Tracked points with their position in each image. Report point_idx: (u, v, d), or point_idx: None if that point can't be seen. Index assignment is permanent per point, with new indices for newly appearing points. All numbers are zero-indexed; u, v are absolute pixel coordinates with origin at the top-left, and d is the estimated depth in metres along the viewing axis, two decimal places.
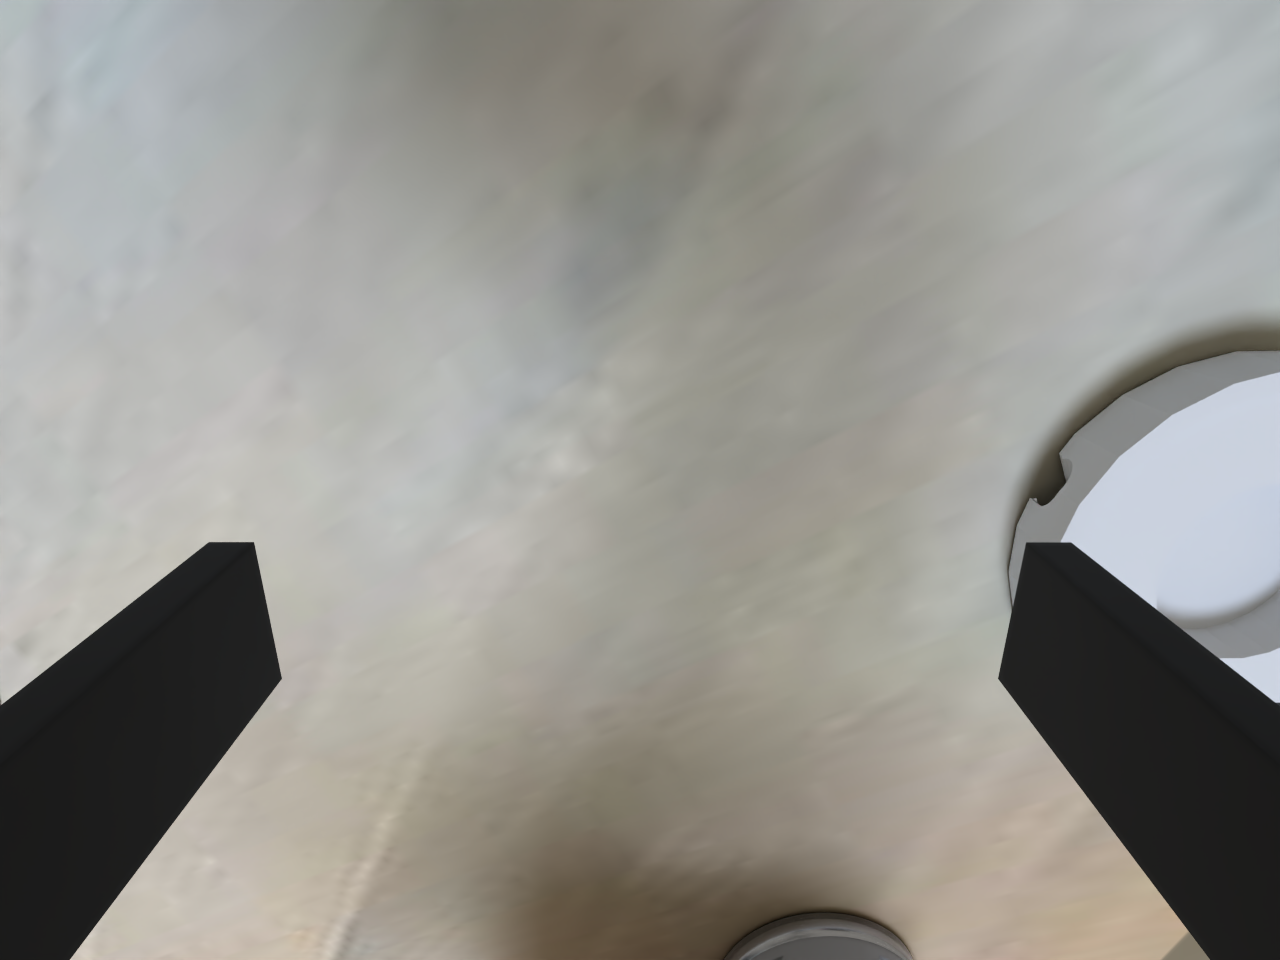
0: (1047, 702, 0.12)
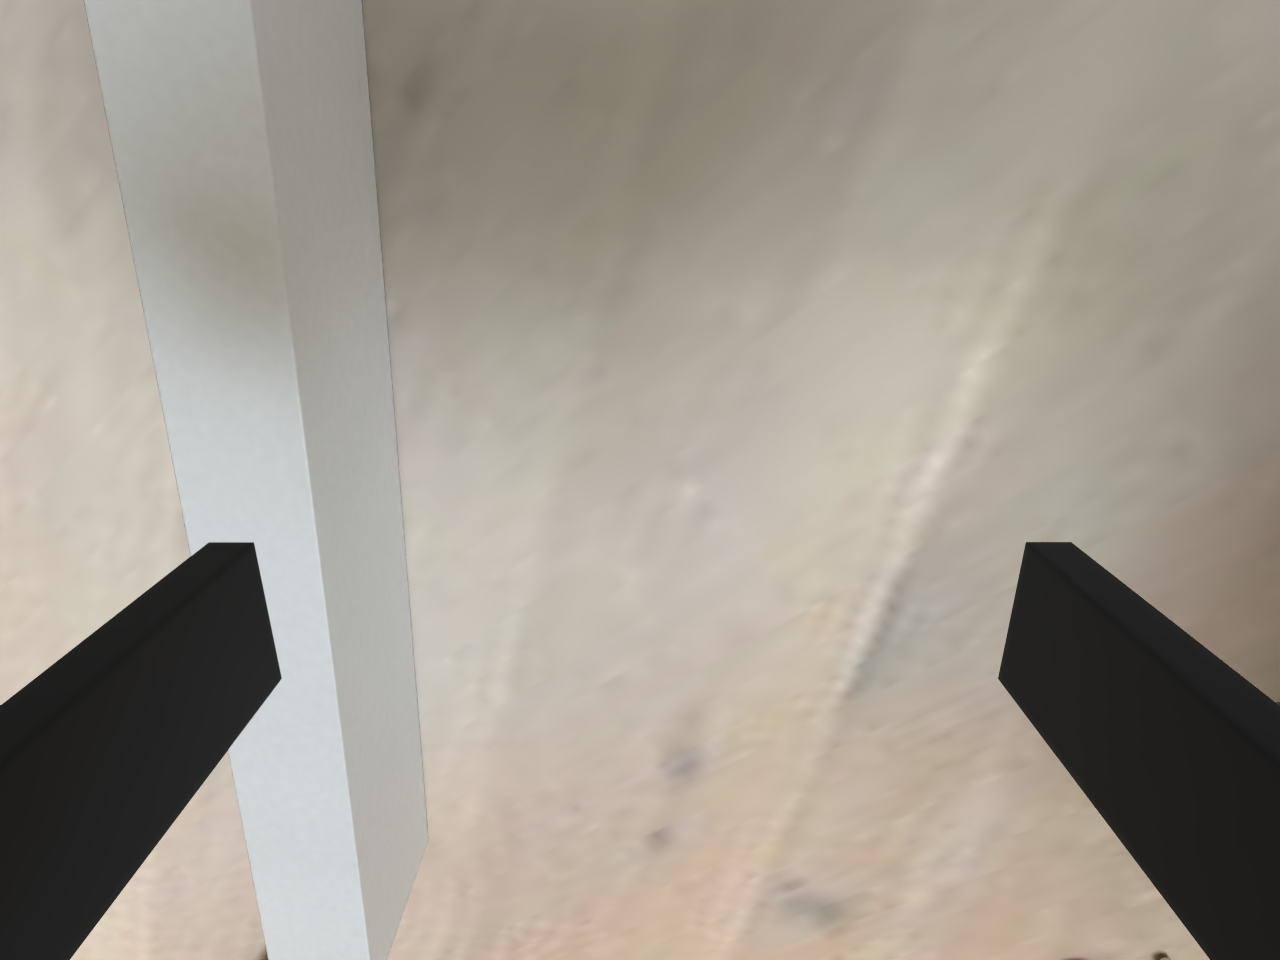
0: (1047, 702, 0.12)
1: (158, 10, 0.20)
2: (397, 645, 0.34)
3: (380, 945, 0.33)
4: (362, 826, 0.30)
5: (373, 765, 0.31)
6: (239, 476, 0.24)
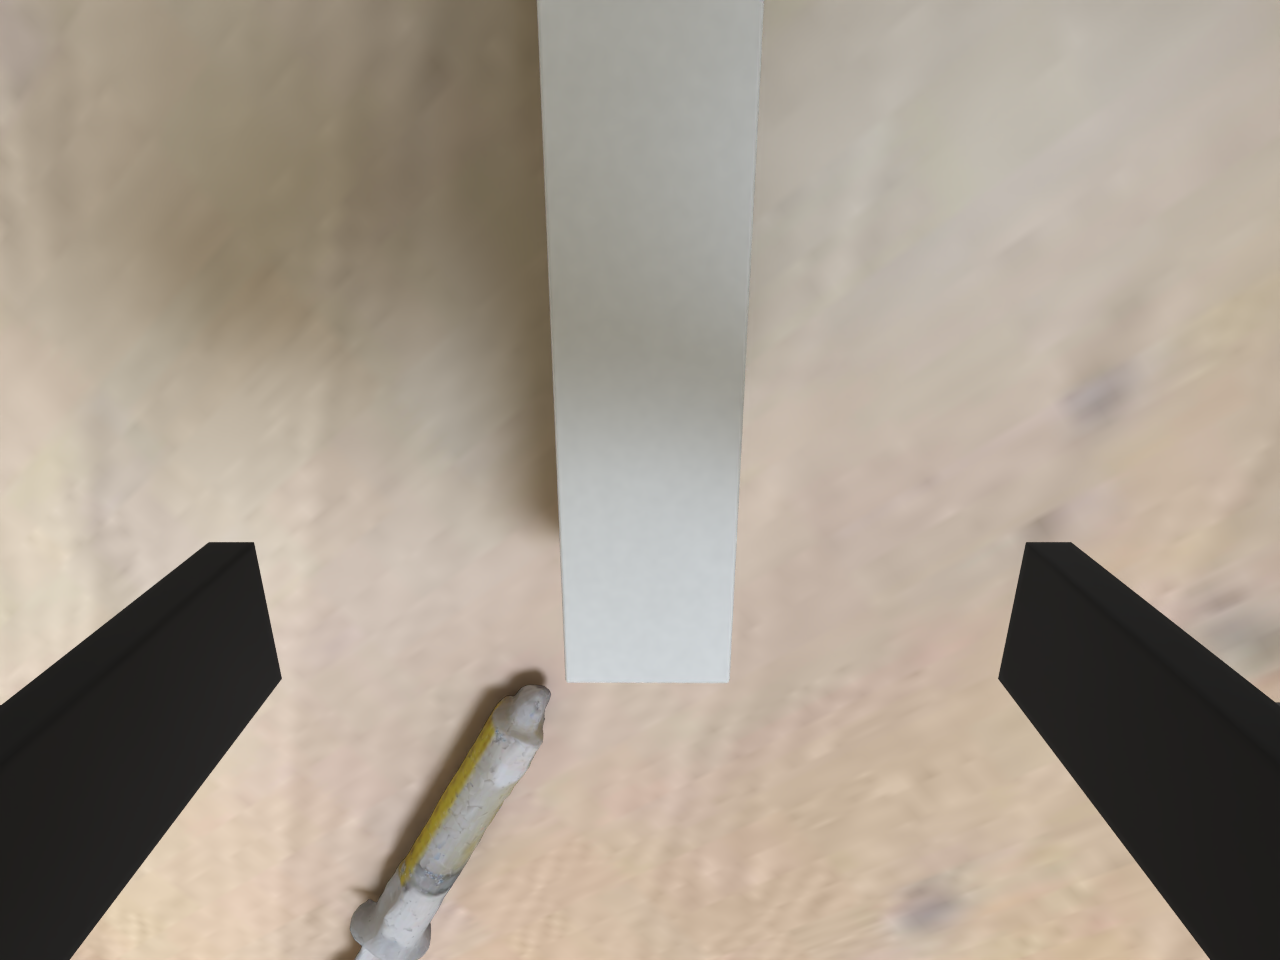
0: (1047, 702, 0.12)
1: None
2: None
3: None
4: None
5: None
6: None
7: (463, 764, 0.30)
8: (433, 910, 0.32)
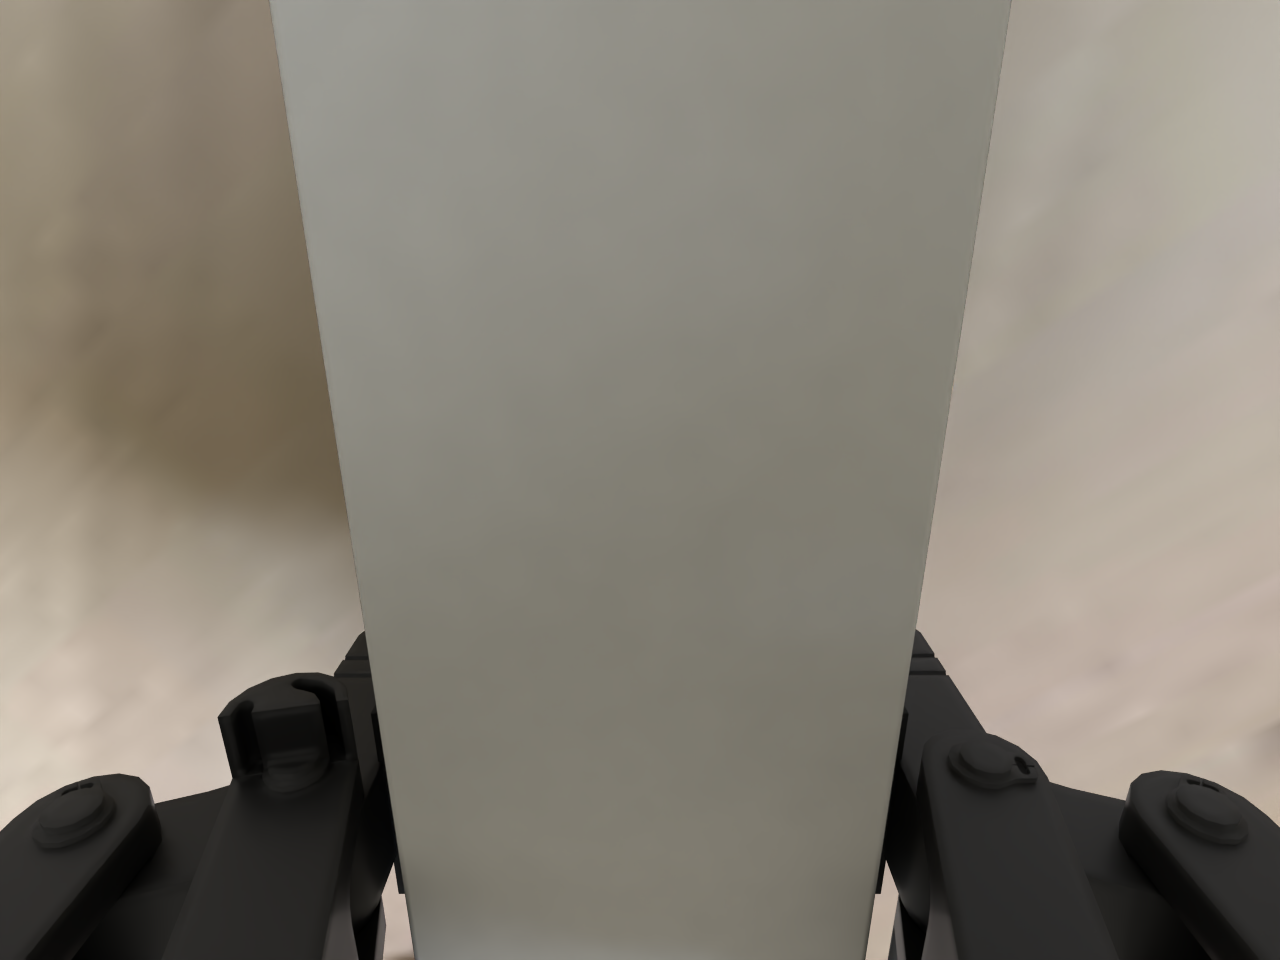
0: None
1: None
2: None
3: None
4: None
5: None
6: None
7: None
8: None
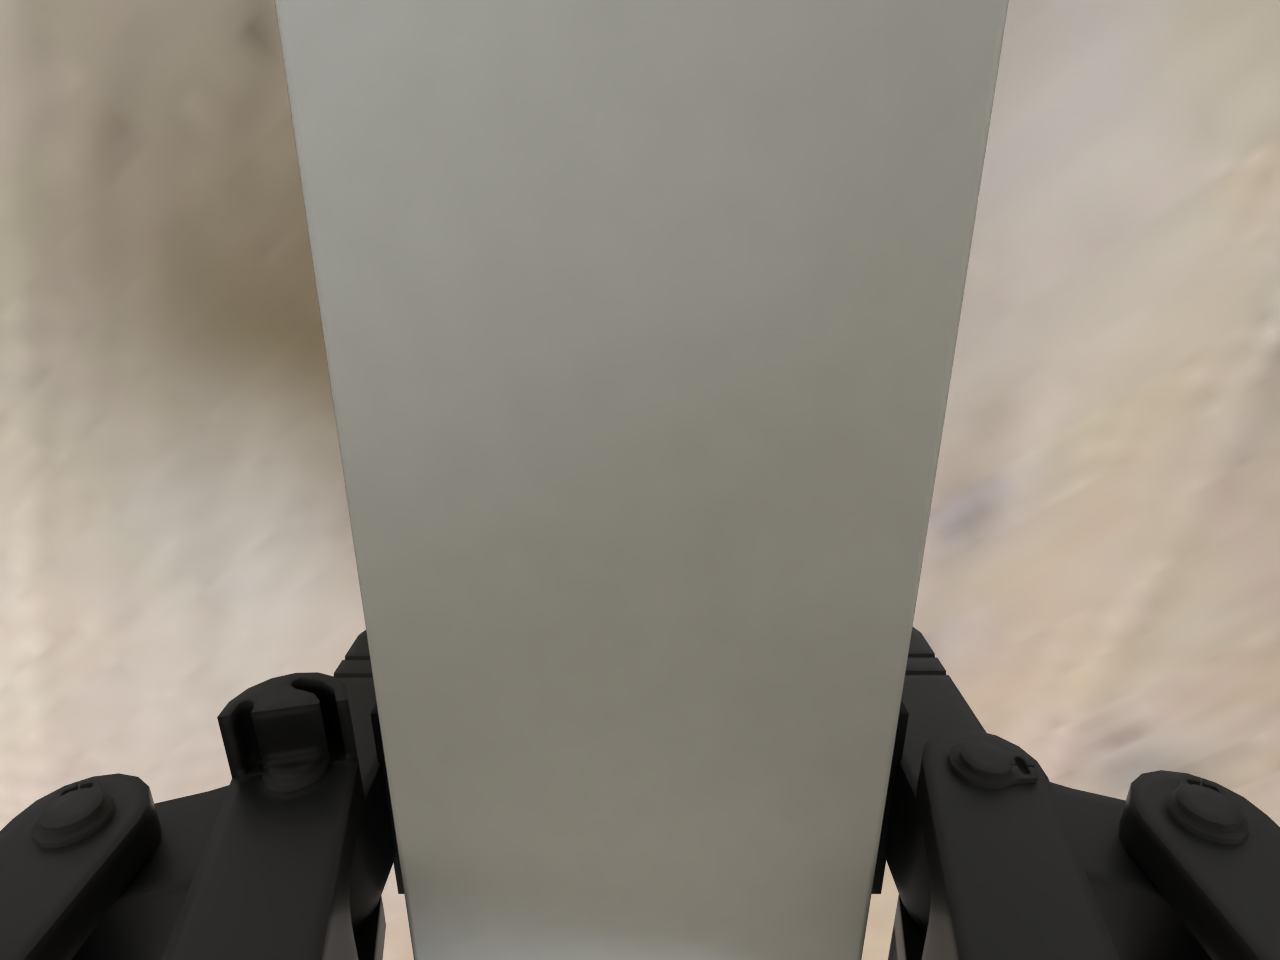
0: None
1: None
2: None
3: None
4: None
5: None
6: None
7: None
8: None
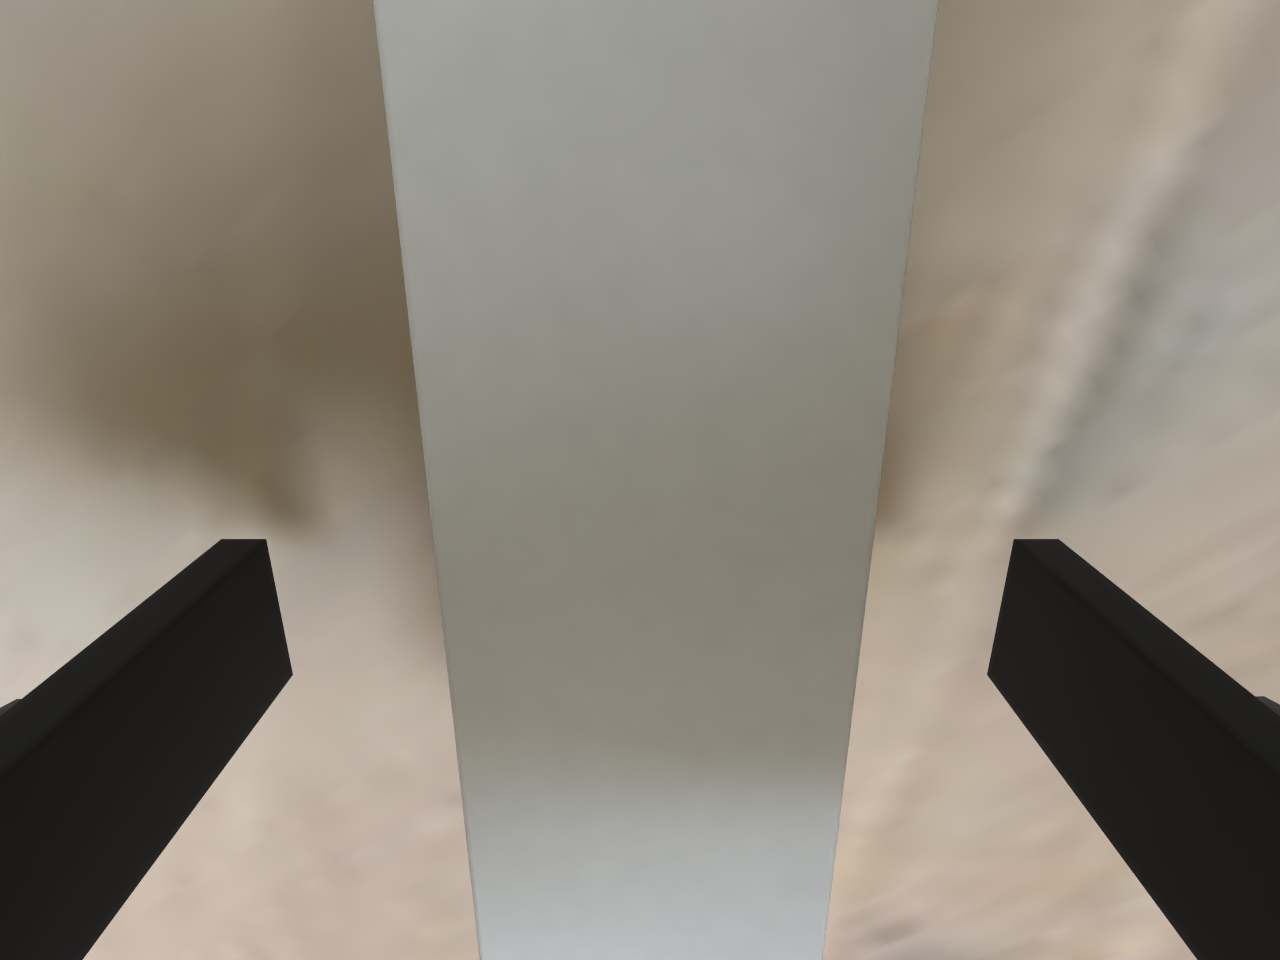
0: (1034, 697, 0.12)
1: None
2: None
3: None
4: None
5: None
6: None
7: None
8: None
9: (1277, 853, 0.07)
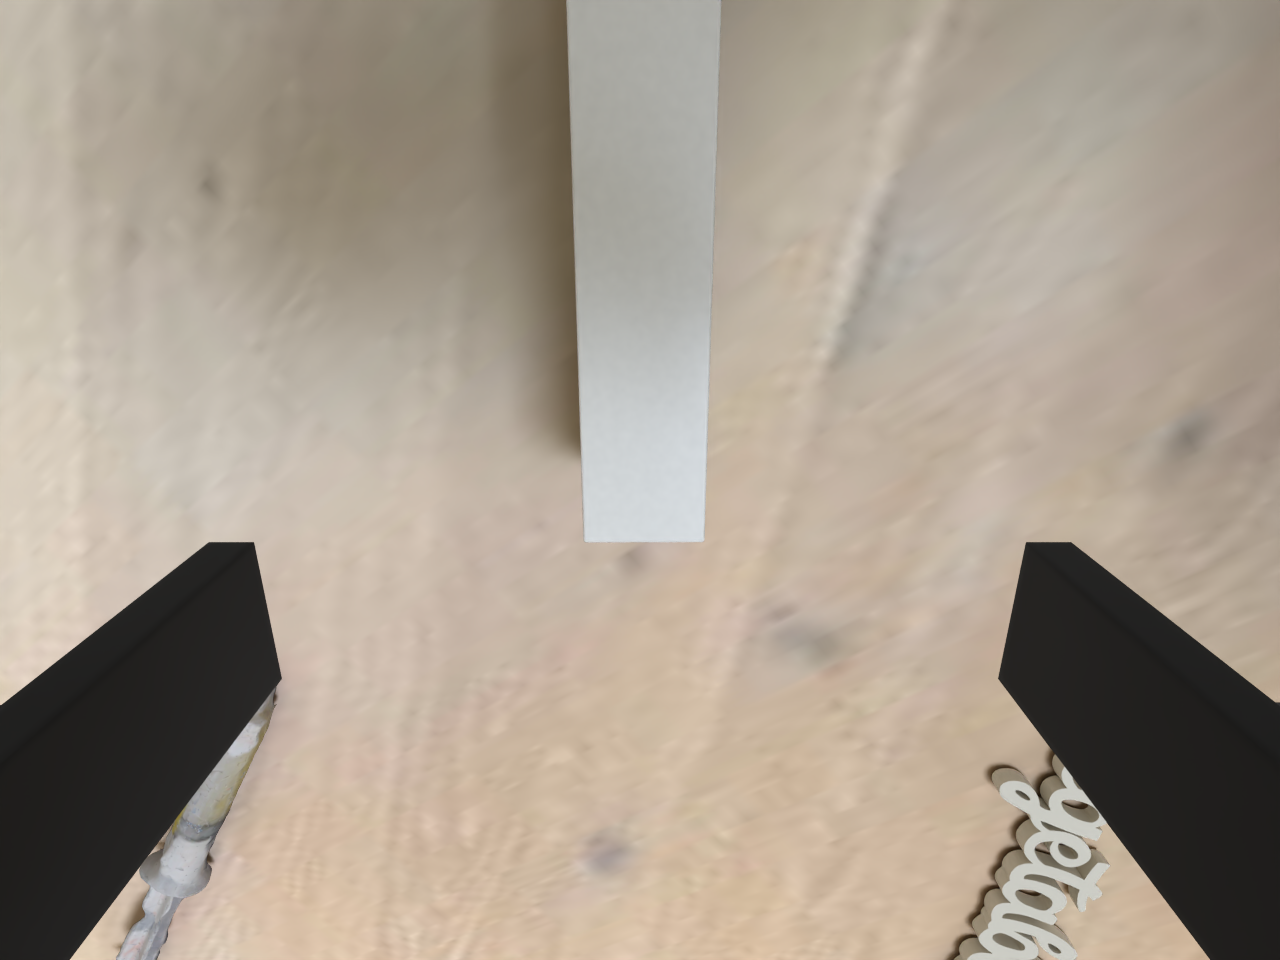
0: (1047, 702, 0.12)
1: None
2: None
3: None
4: None
5: None
6: None
7: None
8: (200, 854, 0.41)
9: None
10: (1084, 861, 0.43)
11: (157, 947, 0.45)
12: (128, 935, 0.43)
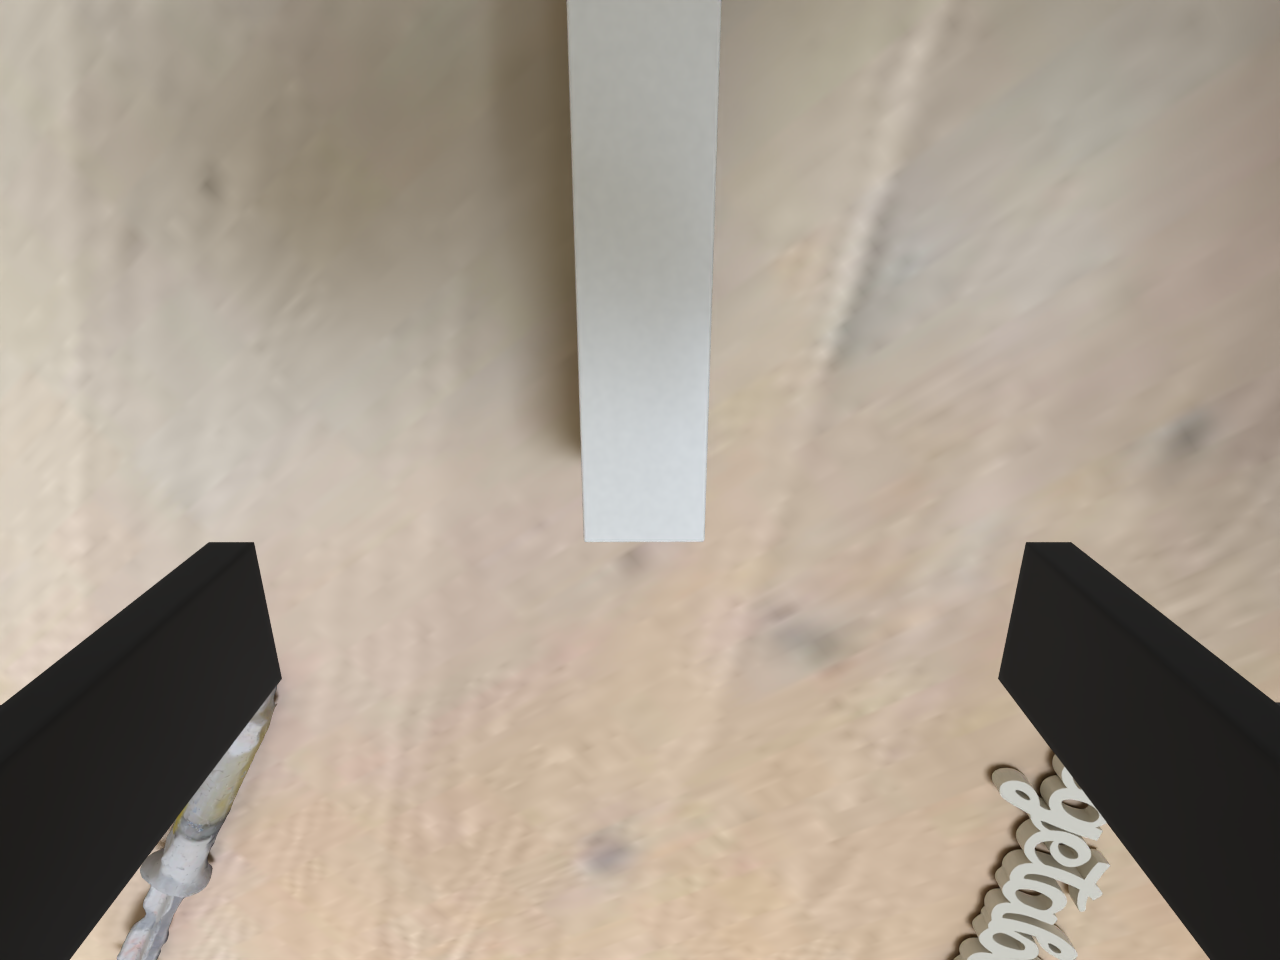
0: (1047, 702, 0.12)
1: None
2: None
3: None
4: None
5: None
6: None
7: None
8: (201, 853, 0.41)
9: None
10: (1084, 861, 0.43)
11: (158, 946, 0.45)
12: (129, 934, 0.43)
